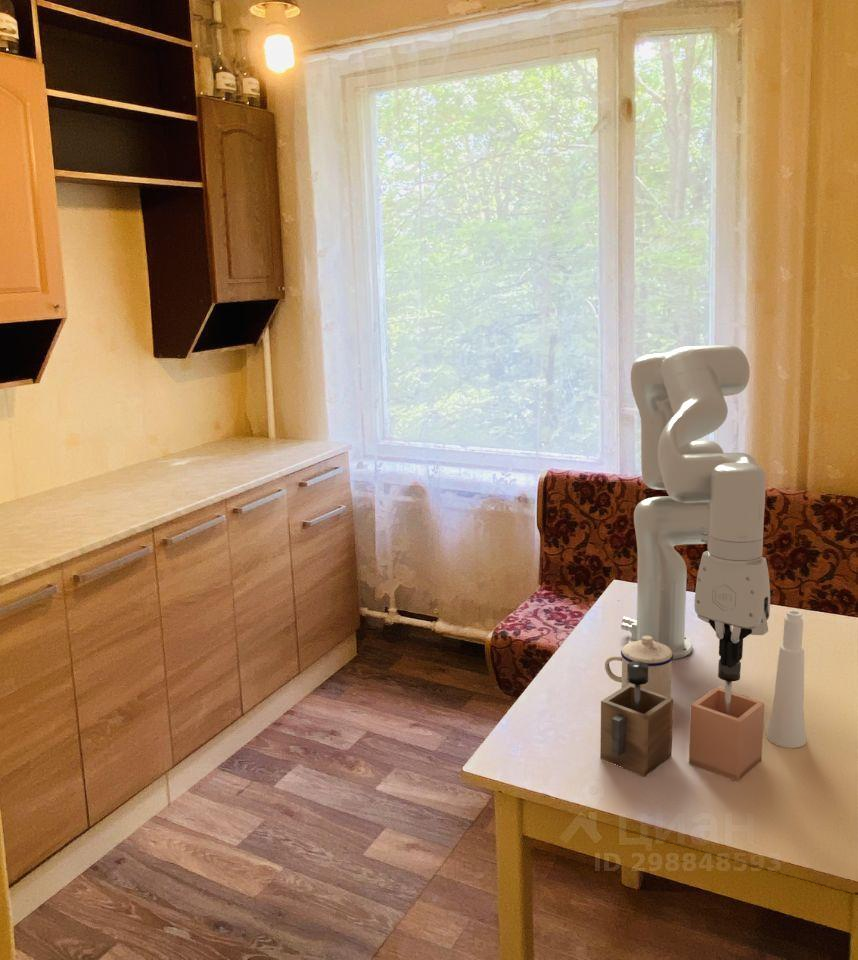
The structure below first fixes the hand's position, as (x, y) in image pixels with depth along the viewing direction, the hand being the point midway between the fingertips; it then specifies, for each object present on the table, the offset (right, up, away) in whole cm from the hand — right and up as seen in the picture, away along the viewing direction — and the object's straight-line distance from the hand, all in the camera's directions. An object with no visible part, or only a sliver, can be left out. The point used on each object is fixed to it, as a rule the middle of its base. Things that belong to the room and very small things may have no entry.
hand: (730, 662), depth 133 cm
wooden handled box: (-13, -16, +6) cm, 22 cm away
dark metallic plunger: (-13, -15, +6) cm, 20 cm away
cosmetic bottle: (+13, -15, +10) cm, 22 cm away
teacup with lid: (-8, -12, +26) cm, 30 cm away
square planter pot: (+1, -16, +4) cm, 17 cm away
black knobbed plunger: (+1, -14, +3) cm, 14 cm away
